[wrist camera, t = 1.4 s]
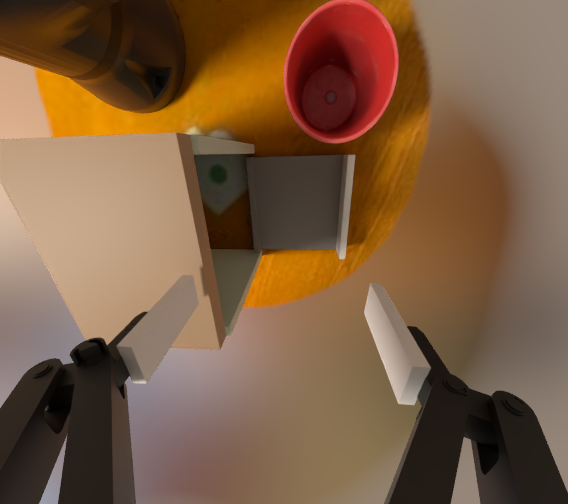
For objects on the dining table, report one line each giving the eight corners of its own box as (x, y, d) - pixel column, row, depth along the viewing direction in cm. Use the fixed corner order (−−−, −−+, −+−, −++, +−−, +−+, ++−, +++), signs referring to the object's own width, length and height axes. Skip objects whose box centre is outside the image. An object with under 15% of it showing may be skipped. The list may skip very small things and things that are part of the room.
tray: (249, 157, 33) (242, 157, 29) (348, 154, 31) (355, 154, 27) (257, 247, 39) (252, 257, 35) (340, 247, 37) (345, 258, 33)
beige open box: (163, 147, 33) (-23, 140, 14) (254, 144, 32) (183, 132, 13) (187, 254, 40) (87, 343, 22) (262, 255, 39) (225, 350, 20)
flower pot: (384, 59, 27) (424, 14, 18) (352, 154, 31) (371, 154, 23) (301, 36, 27) (300, -22, 18) (280, 135, 31) (272, 128, 22)
